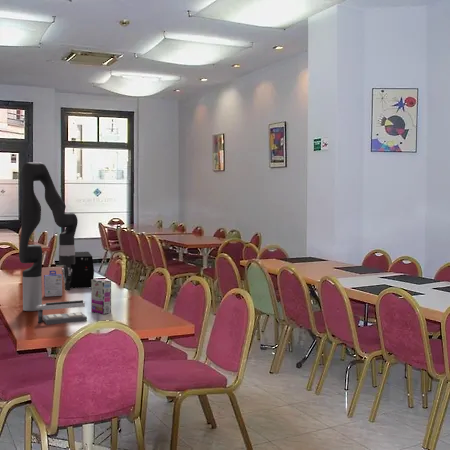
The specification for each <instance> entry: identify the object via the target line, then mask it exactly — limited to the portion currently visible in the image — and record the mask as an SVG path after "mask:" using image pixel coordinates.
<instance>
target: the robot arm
mask: <svg viewBox="0 0 450 450" xmlns="http://www.w3.org/2000/svg"><path fill="white" fill-rule="evenodd" d="M34 182H40V183H41V184H42V185H43V187H44V199H45V202H46V204H47V206H48V207H49V209H50V210H51V212H52V216H53V221H54V223H55V224H56V225H57V226H58V227H59V228H65V229H64V231H63V232H61V233H60V234H59V237H58V243H59V244H58V245H59V246H58V264H59V265H62V266H63V267H62V269H61V272H62V281H63V283H64V291H70V290H71V288H70V282H71V279H72V268H71V264H75V252H76V248H75V235H76V231H77V227H78V216H77V215H76V213H74V212H64V211H65V210H66V208H67V206H66V204H65V202H64V200H63V199H62V196H61V195H60V194H59V192H58V191H57V189H56V187H55V184H54V182H53V179H52V177H51V174H50V172H49V170H48V168H47V166H46V165H45V164H44V163H43V162H40V161H37V162H32V161H30V162H25V163H24V164H23V165H22V167H21V183H22V184H21V187H22V201H21V202H22V204H21V224H20V225H21V226H20V227H21V230H20V232H21V233H20V242H19V247H18V248H19V250H18V258H19V259H18V260H19V262H20V263H22V264H32V265H31V266H30V267H28V268H26V269H24V270H23V271H22V311H24V312H25V311H26V312H36V311H37V312H38V310H37V305H43V292H42V291H43V286H42V283H43V281H42V278H43V277H42V273H43V272H42V270H43V249H42V246H41V244H29V242H30V238H31V236H32V234H33V233H34V232H35V230H36V229H37V228H38V225H40V223H41V220H42V217H41V216H42V206H41V204H40V203H41V202H40V201H39V199H38V198H37V196H36V194H35V190H34V188H35V187H34Z"/></svg>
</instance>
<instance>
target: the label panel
mask: <svg viewBox="0 0 450 450" xmlns="http://www.w3.org/2000/svg"><path fill="white" fill-rule="evenodd" d="M43 321H44V323H45V324H46V325H47V326H48V325H58V324H59V325H60V324H71V323H82V322H87V321H88V317H87V316H86V315H85V314H84V313H83V312H79V311H78V312H69V313H68V312H66V313H52V314H43Z"/></svg>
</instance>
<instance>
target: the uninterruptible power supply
mask: <svg viewBox="0 0 450 450" xmlns="http://www.w3.org/2000/svg"><path fill="white" fill-rule="evenodd" d="M93 259H94V258H93V256H92V254H91V253H90V252H89V251H75V264H71V268H72V279H71V282H70V289H87V288H89V287H91V280H94V279H95V278H94V277H95V267H94V260H93Z"/></svg>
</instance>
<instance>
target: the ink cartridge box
mask: <svg viewBox="0 0 450 450" xmlns="http://www.w3.org/2000/svg"><path fill="white" fill-rule="evenodd" d="M43 280H44V281H43V282H44V283H43V284H44V287H43V288H44V297H60V296H63V274H60V273H57V271H56V270H49V274H45V275H43Z"/></svg>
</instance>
